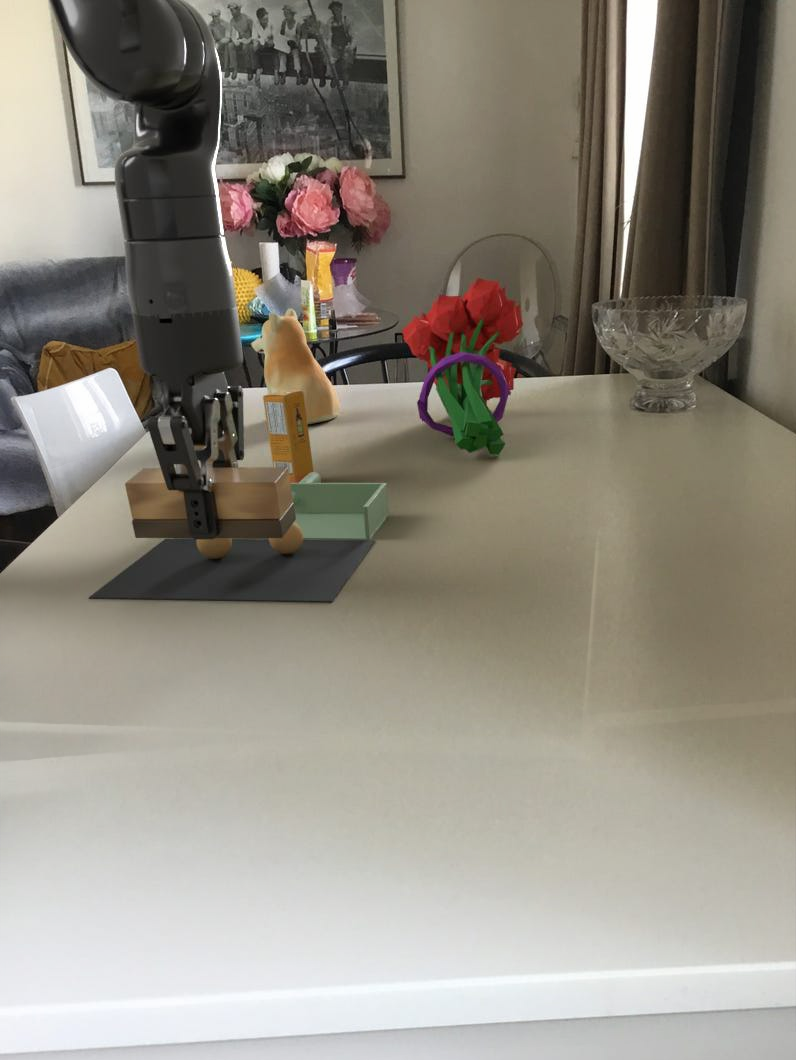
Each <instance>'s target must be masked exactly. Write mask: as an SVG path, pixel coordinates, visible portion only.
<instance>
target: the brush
mask: <svg viewBox="0 0 796 1060" xmlns="http://www.w3.org/2000/svg"><path fill="white" fill-rule="evenodd" d="M200 469H201V467H200ZM175 470H176V467H175ZM124 486H125V490H126V491H125V492H126V495H127V500H128V505H129V509H130V514H131V518H132V520H131V524H132V528H133V533H134V537H135V539H193V538H192V537H191V536H190V534H189V527H188V521H187V514H186V507H185V501H184V494H183V492H179V491H178V490H168V489H167V486H166V483H165V480H164V477H163V473H162V470H161V467H143V468H142V469H140V470H139V471H138V472H137V473H135V475H133V476H131V478H129V479H128V480H127V481H126V482H125V483H124ZM213 490H214V493H215V500H216V507H217V514H218V522H219V529H220V533H219V535H218V536H217V537H216V538H283V536H284V535H285V534H286V532H287V531H288V529H289V528H290V527H291V525H292V524H293V523H294V521H295V520H296V516H295V508H294V503H293V499H292V492H291V484H290V477H289V470H288V467H273V466H259V467H258V466H257V467H256V466H255V467H254V466H253V467H252V466H251V467H250V466H249V467H247V466H246V467H243V466H242V467H239V466H238V468H213Z"/></svg>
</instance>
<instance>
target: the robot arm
mask: <svg viewBox="0 0 796 1060" xmlns="http://www.w3.org/2000/svg"><path fill="white" fill-rule="evenodd" d="M48 2H49V5H50V7H51V10H52V13H53V17H54V20H55V22H56V24H57V27H58V30H59V33H60V35H61V37H62V40H63V42H64V45H65V46H66V48H67V50H68V52H69V54H70V56H71V57H72V59H73V61H74V62H75V64H76V65H77V67H78V68H79V70H80V71H81V72H82V74H83V75H84V76H85V77H86V78H87V80H88V81H89V82H90V84H92V85H93V86H94V87H95V88H96V89H97V90H98V91H99V92H100V93H102V94H103V95H105V96H106V97H108V98H109V99H111V100H113V101H116V102H118V103H120V104H125V105H131V106H133V142H132V143H133V144H132V146H131V148H129V149H127V150H126V151H124V152H123V153H120V155H119V156H118V158H117V159H116V161H115V163H114V185H115V193H116V199H117V204H118V210H119V217H120V223H121V229H122V230H121V231H122V236H123V240H125V241H124V243H123V245H124V255H125V256H124V257H125V260H124V261H125V262H124V263H125V264H124V265H125V276H126V285H127V290H128V297H129V302H130V304H129V305H130V309H131V316H132V322H133V328H134V335H135V343H136V348H137V353H138V360H139V365H140V369H141V371H142V372H143V373H145V374H146V375H148V376H152V377H156V376H157V377H159V378H160V379H161V380H162V382H163V398H162V399H163V401H162V402H163V413H162V415H160V416H149V417H148V420H147V430H148V432H149V435H150V439H151V441H152V445H153V448H154V451H155V454H156V457H157V461H158V464H159V466H160V467H159V468H161V470H162V473H163V477H164V480H165V483H166V486H167V489H168V490H178V491H179V492H183V494H184V501H185V507H186V514H187V521H188V527H189V534H190V536H191V537H192V538H191V539H214V538H216V537H217V536H218V535H219V533H220V529H219V522H218V514H217V507H216V500H215V493H214V490H213V468H238V467H239V463H238V461H243V460H244V458H245V427H244V426H245V425H244V424H245V423H244V421H245V420H244V389H243V387H242V386H241V385H229V384H228V382H227V379H226V375H225V373H227V372H231V371H234V370H236V369H238V368H241V366H242V365H243V363H244V352H243V346H242V345H243V344H242V336H241V328H240V327H241V326H240V321H239V312H238V303H237V296H236V288H235V280H234V273H233V266H232V263H231V259H230V255H229V252H228V251H229V250H228V247H227V242H226V237H225V228H224V220H223V212H222V204H221V203H222V202H221V196H220V194H221V193H220V189H219V183H218V179H217V164H218V163H217V161H218V155H219V147H220V134H221V133H220V132H221V115H222V98H223V97H222V96H223V95H222V94H223V93H222V92H223V85H222V83H223V81H222V70H221V61H220V57H219V52H218V48H217V45H216V42H215V38H214V35H213V33H212V30H211V29H210V27H209V25H208V23H207V21H206V20H205V18H204V17H203V15H202V14H201V13H200V12H199V11H198V10H197V9H196V7H194V6H193V5H191V4H190V3H189V2H187V1H186V0H48ZM199 462H200V463H199ZM175 468H176V470H175ZM200 468H201V469H200Z"/></svg>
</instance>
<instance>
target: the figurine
mask: <svg viewBox="0 0 796 1060" xmlns="http://www.w3.org/2000/svg"><path fill="white" fill-rule="evenodd" d="M298 320H299V319H298V315H297V312H296V311H295V310H294V309H293V308H288V309H287V310H286V312H285V314H284V315H282V316H280V315H279V314H278V313H276V312H269V314H268V319H267V320H266V321H265V322H264V323H263V325H262V328H261V334H260V336H259V337H257V338H256V339H255V340H253V341H252V342H251V343H250V347H251V348H253V350H254V351H255V352H257V353H259V354H264V364H263V365H264V366H263V376H264V382H265V386H266V390H267V394H271V393H274V392H277V391H281V390H301V391H303V393H304V401H305V409H306V416H307V424H308V425H312V424H316V423H323V422H326V421H330V420H332V419H335V418H336V417H338V416H339V415H340V402H339V401H340V400H339V397H338V394H337V392H336V390H335V388H334V386H333V384H332V382H331V381H330V379H329V378H328V376H327V374H326V372H325V370H324V369H323V367H322V366H321V365H320V364H319V363H318V361H317V360H316V358H315V357H314V355H313V353H312V350H311V349H310V347H309V345H308V344H307V336H306V333H305V331H304V328H303V326H302V324H301V323H300V322H299V321H298ZM264 417H265V418H266V414H265V413H264Z"/></svg>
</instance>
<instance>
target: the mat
mask: <svg viewBox="0 0 796 1060" xmlns="http://www.w3.org/2000/svg"><path fill="white" fill-rule="evenodd" d="M196 541H197V539H193V538H163V540H161V541H160V542H159V543H158V544H156V545H155V546H154V547H152V548H151V549H150V550H149V551H147V552H146V553H144V554H143V555H142V556H140V557H139V558H138V559H136V560H135V561H134V562H133V563H131V564H130V565H129V566H128V567H126V568H125V569H124V570H122V571H121V572H120V573H118V574H117V575H116V576H114V577H113V578H112V579H110V581H108V582H106V583H105V584H104V585H103V586H101V587H100V588H99V589H98V590H96V591H95V592H93V593H92V594H91V595H89V596H88V600H124V601H125V600H127V601H128V600H129V601H130V600H131V601H187V602H189V601H194V602H249V603H250V602H253V603H254V602H256V603H309V604H310V603H311V604H312V603H313V604H315V603H317V604H318V603H319V604H321V603H322V604H332V603H333V602H334V601H335V599H336V598H337V597H338V595H339V594H340V593H341V591H342V589H344V587H345V585H346V584H347V582H348V581H349V580H350V579H351V577H352V576H353V574H354V573H355V571H356V570H357V568H358V567H359V565H361V563H362V561H363V560H364V558H365V557H366V555H367V554H368V553H369V551H370V550H371V548H372V547H373V545H374V544H375V543H376V540H375V539H370V540H320V539H303V542H302V545H301V547H300V548H299V549H298V550H297V551H295V552H294V553H291V554H281V553H279V552H277V551H275V550H274V549H273V548H272V546H271V545H270V542H269V539H232V546H231V549H230V551H229V552H228V553H227V554H226V555H225V556H224V557H222V558H219V559H211V558H207V557H205V556H204V555H203V554H202V553H201V552H200V551H199V549H198V547H197V542H196Z"/></svg>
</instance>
